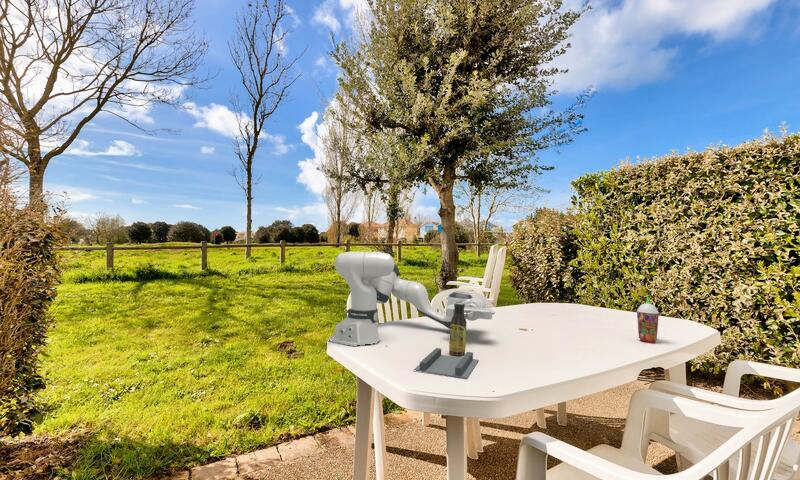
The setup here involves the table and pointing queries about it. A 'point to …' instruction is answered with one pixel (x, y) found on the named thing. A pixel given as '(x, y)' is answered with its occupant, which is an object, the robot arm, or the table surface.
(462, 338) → the sauce bottle
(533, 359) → the table surface
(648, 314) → the smoothie
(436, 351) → the holder
